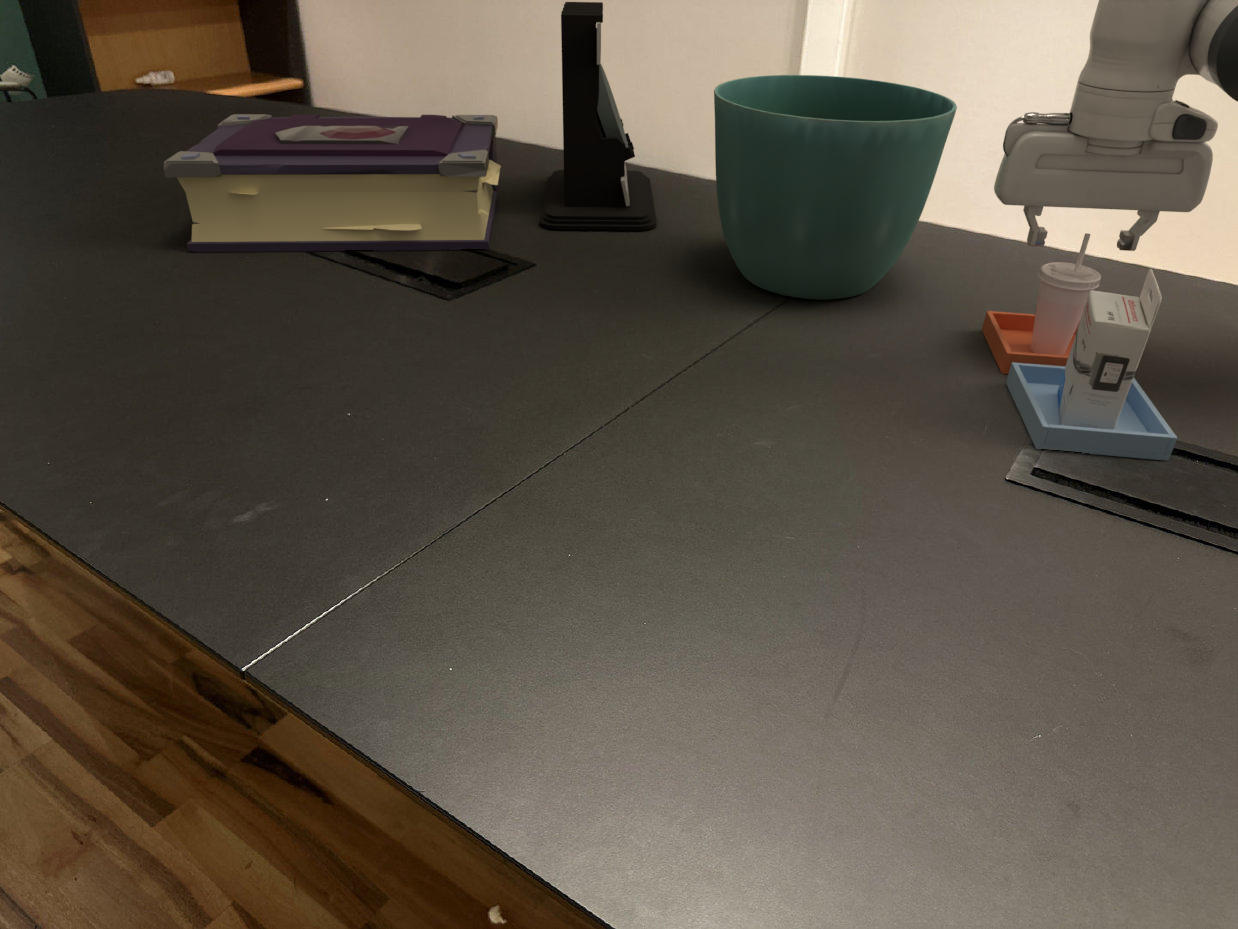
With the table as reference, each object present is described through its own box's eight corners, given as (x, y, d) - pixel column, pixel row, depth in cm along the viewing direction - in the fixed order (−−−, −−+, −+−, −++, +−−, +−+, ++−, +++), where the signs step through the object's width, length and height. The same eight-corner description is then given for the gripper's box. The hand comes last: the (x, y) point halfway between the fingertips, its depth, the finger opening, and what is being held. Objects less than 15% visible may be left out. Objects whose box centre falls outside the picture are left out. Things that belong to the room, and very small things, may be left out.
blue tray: (1121, 392, 98) (1129, 371, 97) (1168, 461, 86) (1177, 437, 85) (1005, 383, 99) (1011, 362, 98) (1035, 449, 88) (1043, 426, 86)
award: (657, 231, 142) (665, 21, 126) (538, 230, 141) (531, 19, 125) (649, 179, 168) (654, -2, 151) (548, 178, 167) (543, -3, 151)
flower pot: (908, 249, 136) (941, 79, 123) (930, 329, 112) (975, 126, 99) (711, 235, 141) (723, 69, 128) (690, 309, 116) (703, 112, 103)
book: (248, 189, 158) (231, 105, 151) (505, 188, 161) (500, 105, 154) (184, 253, 130) (159, 153, 123) (496, 250, 133) (490, 153, 126)
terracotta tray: (1084, 337, 110) (1091, 318, 109) (1115, 383, 100) (1122, 361, 99) (981, 330, 112) (986, 310, 110) (1001, 374, 101) (1007, 353, 100)
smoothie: (1079, 366, 102) (1117, 246, 94) (1019, 357, 104) (1052, 239, 96) (1074, 343, 107) (1110, 228, 100) (1017, 335, 109) (1048, 221, 101)
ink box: (1055, 391, 97) (1097, 259, 89) (1105, 400, 95) (1152, 266, 87) (1059, 429, 90) (1104, 289, 82) (1113, 438, 88) (1164, 297, 80)
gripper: (1016, 118, 90) (986, 251, 97) (1236, 124, 87) (1188, 261, 95) (1003, 105, 95) (976, 233, 103) (1211, 111, 93) (1167, 242, 100)
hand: (1079, 247), depth 99 cm, fingers open, 8 cm apart
